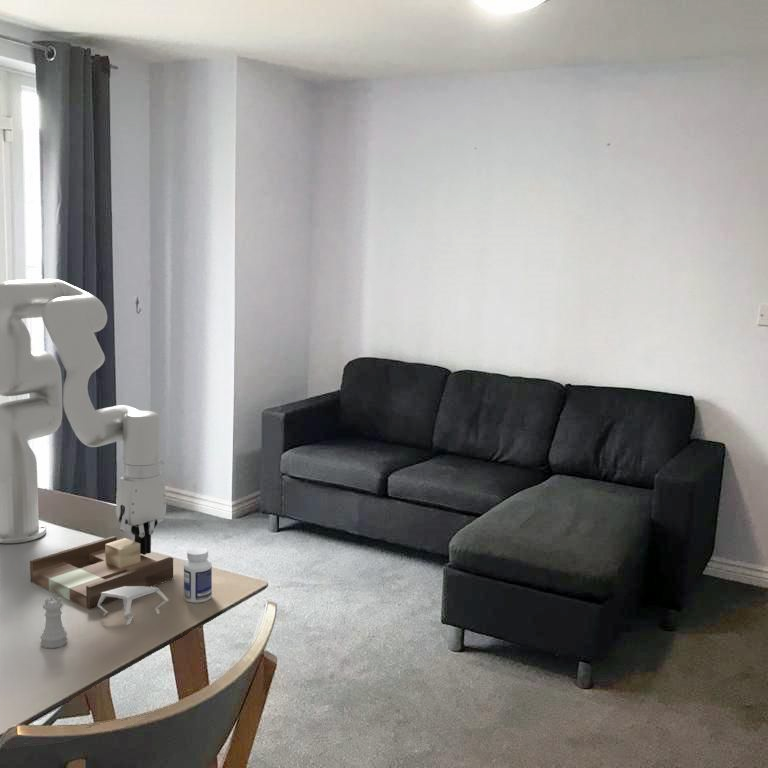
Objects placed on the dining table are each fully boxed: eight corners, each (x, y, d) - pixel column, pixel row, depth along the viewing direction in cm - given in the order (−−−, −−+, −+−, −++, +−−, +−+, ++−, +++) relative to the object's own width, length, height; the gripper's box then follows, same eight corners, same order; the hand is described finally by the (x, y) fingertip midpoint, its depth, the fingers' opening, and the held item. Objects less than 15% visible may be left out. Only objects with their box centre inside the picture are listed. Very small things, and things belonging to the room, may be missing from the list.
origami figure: (108, 631, 155) (108, 605, 154) (96, 613, 162) (96, 588, 161) (173, 617, 162) (173, 592, 161) (159, 601, 168) (158, 577, 168)
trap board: (30, 581, 175) (30, 560, 174) (113, 555, 191) (113, 535, 190) (89, 609, 163) (89, 587, 162) (173, 578, 179) (173, 558, 178)
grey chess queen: (40, 651, 147) (39, 607, 145) (39, 639, 151) (38, 596, 149) (68, 647, 148) (67, 603, 147) (66, 636, 153) (65, 593, 151)
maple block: (105, 562, 180) (105, 544, 179) (125, 555, 184) (125, 537, 183) (120, 568, 177) (120, 549, 176) (140, 561, 181) (140, 543, 180)
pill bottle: (215, 593, 173) (215, 547, 171) (207, 604, 167) (207, 556, 166) (189, 591, 173) (188, 545, 172) (180, 602, 168) (179, 554, 166)
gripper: (158, 459, 190) (159, 539, 193) (100, 473, 178) (102, 557, 181) (181, 466, 185) (181, 547, 188) (123, 480, 173) (125, 566, 176)
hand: (143, 552), depth 185 cm, fingers closed
